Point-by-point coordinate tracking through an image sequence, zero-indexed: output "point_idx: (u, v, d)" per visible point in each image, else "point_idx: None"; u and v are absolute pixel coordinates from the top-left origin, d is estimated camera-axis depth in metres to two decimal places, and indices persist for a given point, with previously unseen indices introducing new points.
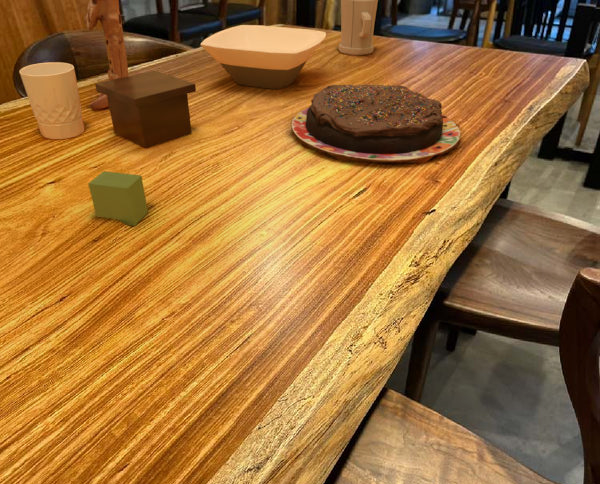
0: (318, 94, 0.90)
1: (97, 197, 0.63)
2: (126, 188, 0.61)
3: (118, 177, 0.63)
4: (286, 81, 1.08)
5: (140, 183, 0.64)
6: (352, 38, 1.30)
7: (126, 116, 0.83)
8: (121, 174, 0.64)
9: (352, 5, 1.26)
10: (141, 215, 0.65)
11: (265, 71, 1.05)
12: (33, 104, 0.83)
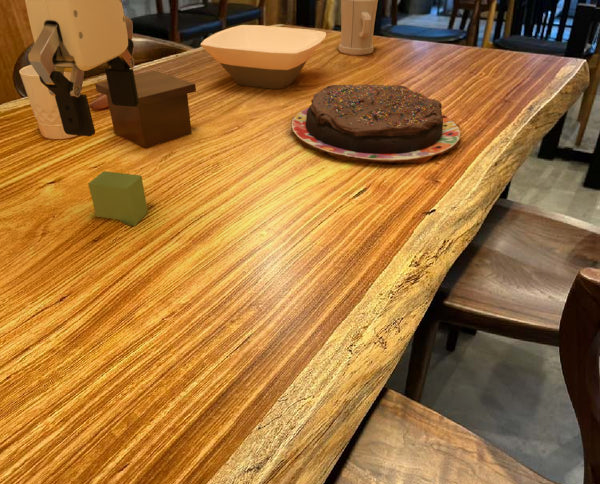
0: (318, 94, 0.90)
1: (97, 197, 0.63)
2: (126, 188, 0.61)
3: (118, 177, 0.63)
4: (286, 81, 1.08)
5: (140, 183, 0.64)
6: (352, 38, 1.30)
7: (126, 116, 0.83)
8: (121, 174, 0.64)
9: (352, 5, 1.26)
10: (141, 215, 0.65)
11: (265, 71, 1.05)
12: (33, 104, 0.83)
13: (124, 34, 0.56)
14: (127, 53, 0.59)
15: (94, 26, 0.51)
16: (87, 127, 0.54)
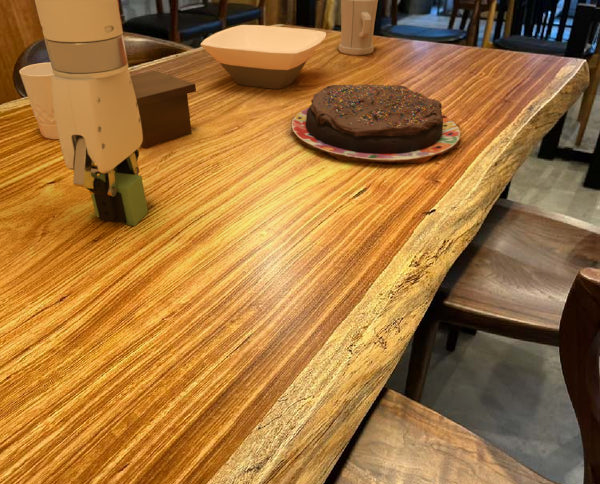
0: (318, 94, 0.90)
1: None
2: (126, 188, 0.61)
3: (118, 177, 0.63)
4: (286, 81, 1.08)
5: (140, 183, 0.64)
6: (352, 38, 1.30)
7: None
8: (121, 174, 0.64)
9: (352, 5, 1.26)
10: (141, 215, 0.65)
11: (265, 71, 1.05)
12: (33, 104, 0.83)
13: (139, 132, 0.63)
14: (133, 164, 0.64)
15: (114, 135, 0.57)
16: (120, 218, 0.63)
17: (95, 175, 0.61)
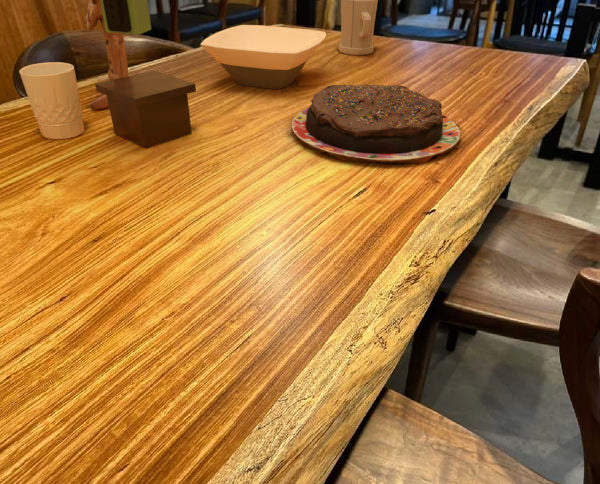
0: (318, 94, 0.90)
1: None
2: None
3: None
4: (286, 81, 1.08)
5: None
6: (352, 38, 1.30)
7: (126, 116, 0.83)
8: None
9: (352, 5, 1.26)
10: (145, 28, 0.73)
11: (265, 71, 1.05)
12: (33, 104, 0.83)
13: None
14: None
15: None
16: (126, 24, 0.71)
17: None
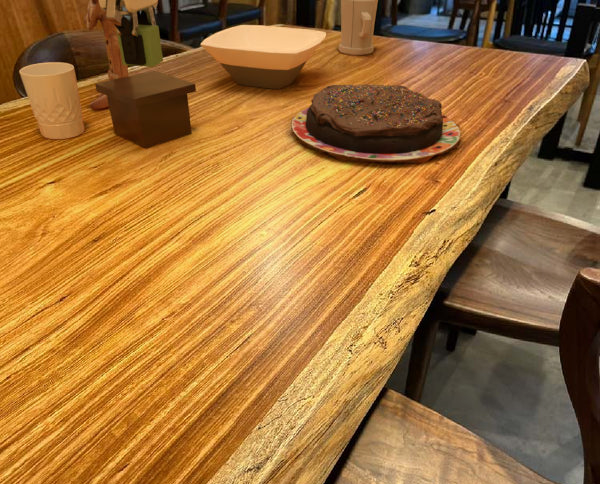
0: (318, 94, 0.90)
1: None
2: (147, 30, 0.77)
3: (140, 26, 0.79)
4: (286, 81, 1.08)
5: (157, 32, 0.80)
6: (352, 38, 1.30)
7: (126, 116, 0.83)
8: (142, 25, 0.80)
9: (352, 5, 1.26)
10: (158, 60, 0.81)
11: (265, 71, 1.05)
12: (33, 104, 0.83)
13: None
14: (151, 16, 0.80)
15: None
16: (141, 58, 0.79)
17: None
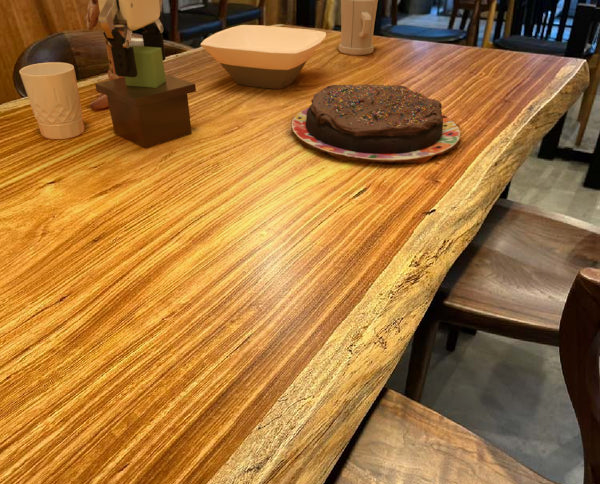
0: (318, 94, 0.90)
1: None
2: (150, 53, 0.79)
3: (143, 48, 0.81)
4: (286, 81, 1.08)
5: (160, 54, 0.82)
6: (352, 38, 1.30)
7: (126, 116, 0.83)
8: (145, 47, 0.82)
9: (352, 5, 1.26)
10: (160, 81, 0.83)
11: (265, 71, 1.05)
12: (33, 104, 0.83)
13: (158, 7, 0.80)
14: (158, 21, 0.82)
15: None
16: (132, 70, 0.77)
17: None
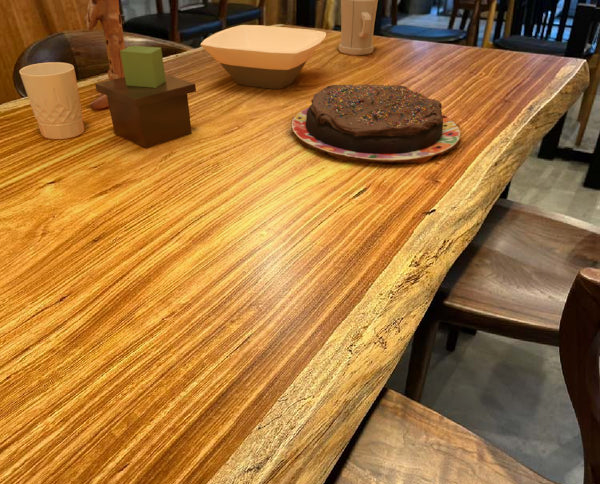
0: (318, 94, 0.90)
1: (127, 63, 0.80)
2: (150, 53, 0.79)
3: (143, 48, 0.81)
4: (286, 81, 1.08)
5: (160, 54, 0.82)
6: (352, 38, 1.30)
7: (126, 116, 0.83)
8: (145, 47, 0.82)
9: (352, 5, 1.26)
10: (160, 81, 0.83)
11: (265, 71, 1.05)
12: (33, 104, 0.83)
13: None
14: None
15: None
16: None
17: None
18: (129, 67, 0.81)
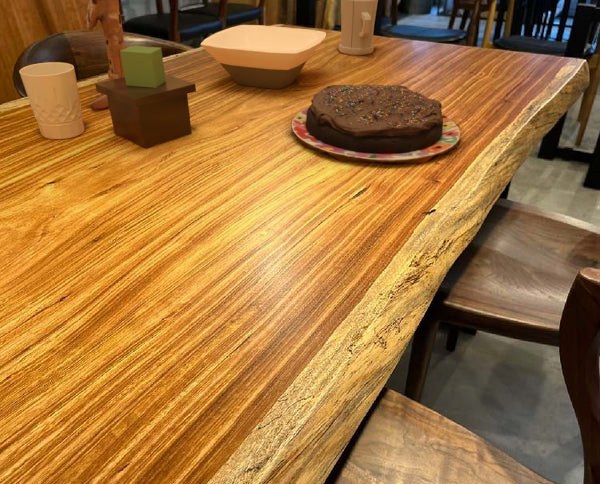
0: (318, 94, 0.90)
1: (127, 63, 0.80)
2: (150, 53, 0.79)
3: (143, 48, 0.81)
4: (286, 81, 1.08)
5: (160, 54, 0.82)
6: (352, 38, 1.30)
7: (126, 116, 0.83)
8: (145, 47, 0.82)
9: (352, 5, 1.26)
10: (160, 81, 0.83)
11: (265, 71, 1.05)
12: (33, 104, 0.83)
13: None
14: None
15: None
16: None
17: None
18: (129, 67, 0.81)
